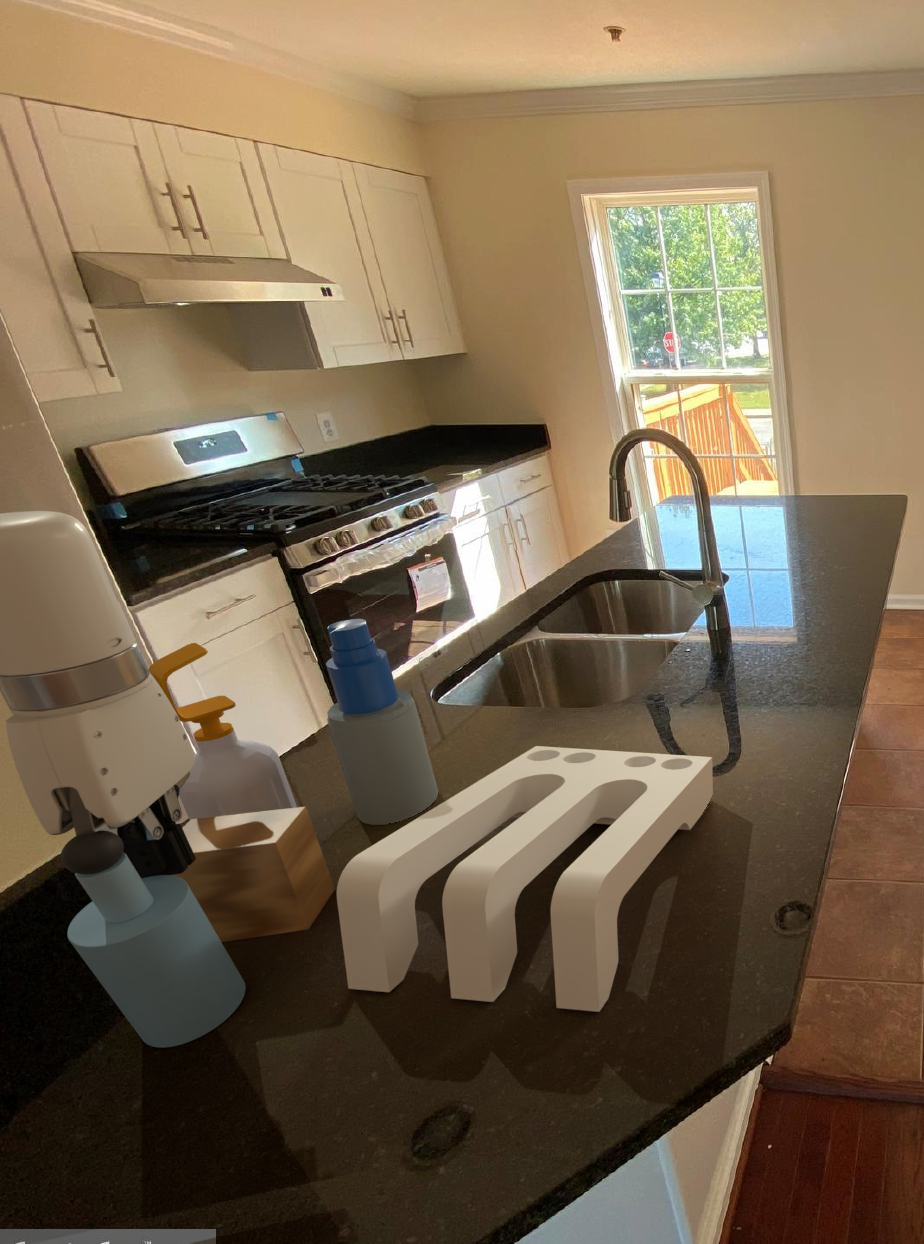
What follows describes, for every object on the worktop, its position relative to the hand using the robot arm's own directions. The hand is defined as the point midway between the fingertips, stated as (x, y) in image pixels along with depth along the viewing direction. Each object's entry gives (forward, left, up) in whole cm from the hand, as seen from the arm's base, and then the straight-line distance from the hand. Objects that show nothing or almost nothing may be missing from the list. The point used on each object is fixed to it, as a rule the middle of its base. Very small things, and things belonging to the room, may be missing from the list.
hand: (169, 869), depth 61 cm
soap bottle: (-8, +24, -14) cm, 28 cm away
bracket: (+29, +9, -14) cm, 33 cm away
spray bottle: (+6, +28, -14) cm, 31 cm away
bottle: (0, +1, -13) cm, 13 cm away
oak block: (0, +9, -13) cm, 16 cm away
